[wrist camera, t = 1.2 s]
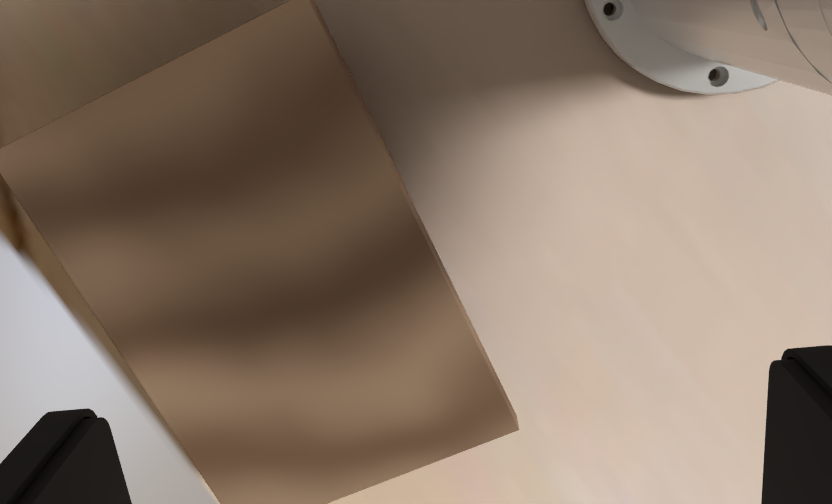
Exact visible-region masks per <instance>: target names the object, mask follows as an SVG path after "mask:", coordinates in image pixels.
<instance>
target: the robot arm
mask: <svg viewBox="0 0 832 504" xmlns="http://www.w3.org/2000/svg"><path fill="white" fill-rule="evenodd" d="M607 3H612V5H613V7H614V10H613V12H612V13H611V14H610V15H606V14H605V13H604V10H603V9H604V6H605V5H606V4H607ZM585 4H586V7H587V10H588V13H589V15H590V17H591V18H592V20H593V22H594V24H595V26H596V28H597V29H598V31H599V33H600V35H601V37H602V38H603V39H604V40H605V41H606V43H607V44H608V45H609V46H610V47H611V48H612V50H613V51H614V52H615V53H616V54H617V56H618V57H619V58H621V59H622V60H623V61H624V62H626V63H627V64H628V65H630V66H631V67H632V68H633V69H635V70H636V71H637V72H639V73H640V74H642V75H644V76H646V77H648V78H650V79H652V80H654V81H655V82H658V83H660V84H663V85H666V86H669V87H671V88H674V89H677V90H680V91H685V92H691V93H698V94H705V95H719V94H737V93H741V92H745V91H750V90H754V89H758V88H763V87H766V86H768V85H770V84H773V83H775V82H777V81H780V80H781V81H784V82H788V83H791V84H795V85H798V86H802V87H805V88H809V89H812V90H815V91H819V92H822V93H826V94H829V95H832V0H585ZM712 69H715V70H716V72H717V75H716V77H715V78H714V79H713V80H709V79H708V75H709V73H710V71H711V70H712ZM0 504H132V503H131V500H130V496H129V493H128V489H127V486H126V482H125V479H124V475H123V472H122V468H121V464H120V461H119V457H118V454H117V450H116V446H115V443H114V440H113V436H112V432H111V429H110V426H109V424H108V422H107V420H106V419H104V418H97V416H96V414H95V413H94V412H93V411H92V410H90V409H77V410H66V411H54V412H48V413H46V414H45V415H44V416H43V417H42V418H41V419H40V420H39V421H38V422H37V423H36V424H35V426H34V427H33V428H32V429H31V430H30V431H29V433H27V435H26V436H25V437H24V438H23V439H22V440H21V441H20V442H19V444H18V445H17V446H16V447H15V448H14V449H13V450H12V452H11V453H10V454H9V455H8V456H7V457H6V458H5V459H4V460H3V461H2V463H1V464H0ZM762 504H832V346H816V347H804V348H793V349H787V350H786V351H784V353H783V356H782V359H781V360H776V361H773V362H772V363H771V365H770V369H769V382H768V399H767V417H766V434H765V452H764V469H763V487H762Z"/></svg>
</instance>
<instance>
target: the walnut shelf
mask: <svg viewBox="0 0 832 504" xmlns="http://www.w3.org/2000/svg"><path fill="white" fill-rule="evenodd" d="M0 174H1V175H2V177H3V178H4V180H5V181H6V183H7V184H8V186H9V187H10V189H11V190H12V192H13V193H14V195H15V196H16V198H17V199H18V201H19V202H20V204H21V205H22V207H23V208H24V210H25V211H26V213H27V214H28V216H29V217H30V219H31V220H32V222H33V223H34V225H35V226H36V228H37V229H38V231H39V232H40V234H41V235H42V237H43V238H44V240H45V241H46V243H47V244H48V246H49V247H50V249H51V250H52V252H53V253H54V255H55V256H56V258H57V259H58V261H59V262H60V264H61V265H62V267H63V268H64V270H65V271H66V273H67V274H68V276H69V277H70V279H71V280H72V282H73V283H74V285H75V286H76V288H77V289H78V291H79V292H80V294H81V295H82V297H83V298H84V300H85V301H86V303H87V304H88V306H89V307H90V309H91V310H92V312H93V313H94V315H95V316H96V318H97V319H98V321H99V322H100V324H101V325H102V327H103V328H104V330H105V331H106V333H107V334H108V336H109V337H110V339H111V340H112V342H113V343H114V345H115V346H116V348H117V349H118V351H119V352H120V354H121V355H122V357H123V358H124V360H125V361H126V363H127V364H128V366H129V367H130V369H131V370H132V372H133V373H134V375H135V376H136V378H137V379H138V381H139V382H140V384H141V385H142V387H143V388H144V390H145V391H146V393H147V394H148V396H149V397H150V399H151V400H152V402H153V403H154V405H155V406H156V408H157V409H158V411H159V412H160V414H161V415H162V417H163V418H164V420H165V421H166V423H167V424H168V426H169V427H170V429H171V430H172V432H173V433H174V435H175V436H176V438H177V439H178V441H179V442H180V444H181V445H182V447H183V448H184V450H185V451H186V453H187V454H188V456H189V457H190V459H191V460H192V462H193V463H194V465H195V466H196V468H197V469H198V471H199V472H200V474H201V475H202V477H203V478H204V480H205V481H206V483H207V484H208V486H209V487H210V489H211V490H212V492H213V493H214V495H215V496H216V498H217V499H218V501H219V502H220V504H327V503H329V502H332V501H335V500H337V499H340V498H342V497H345V496H348V495H350V494H353V493H355V492H358V491H361V490H363V489H366V488H368V487H371V486H374V485H376V484H379V483H382V482H384V481H387V480H389V479H392V478H395V477H397V476H400V475H402V474H405V473H408V472H410V471H413V470H415V469H418V468H421V467H423V466H426V465H429V464H431V463H434V462H436V461H439V460H442V459H444V458H447V457H449V456H452V455H455V454H457V453H460V452H462V451H465V450H468V449H470V448H473V447H476V446H478V445H481V444H483V443H486V442H489V441H491V440H494V439H496V438H499V437H502V436H504V435H507V434H509V433H512V432H515V431H517V430H519V427H518V421H517V416H516V413H515V411H514V409H513V407H512V405H511V403H510V401H509V399H508V397H507V395H506V393H505V391H504V389H503V387H502V385H501V383H500V381H499V379H498V376H497V374H496V372H495V370H494V368H493V366H492V364H491V362H490V360H489V358H488V356H487V354H486V352H485V350H484V348H483V346H482V344H481V342H480V340H479V338H478V335H477V333H476V331H475V329H474V327H473V325H472V323H471V321H470V319H469V317H468V315H467V313H466V311H465V309H464V307H463V305H462V303H461V301H460V299H459V297H458V294H457V292H456V290H455V288H454V286H453V284H452V282H451V280H450V278H449V276H448V274H447V272H446V270H445V268H444V266H443V264H442V262H441V260H440V258H439V256H438V253H437V251H436V249H435V247H434V245H433V243H432V241H431V239H430V237H429V235H428V233H427V231H426V229H425V227H424V225H423V223H422V221H421V219H420V217H419V215H418V212H417V210H416V208H415V206H414V204H413V202H412V200H411V198H410V196H409V194H408V192H407V190H406V188H405V186H404V184H403V182H402V180H401V178H400V176H399V174H398V171H397V169H396V167H395V165H394V163H393V161H392V159H391V157H390V155H389V153H388V151H387V149H386V147H385V145H384V143H383V141H382V139H381V137H380V135H379V133H378V130H377V128H376V126H375V124H374V122H373V120H372V118H371V116H370V114H369V112H368V110H367V108H366V106H365V104H364V102H363V100H362V98H361V96H360V94H359V92H358V89H357V87H356V85H355V83H354V81H353V79H352V77H351V75H350V73H349V71H348V69H347V67H346V65H345V63H344V61H343V59H342V57H341V55H340V53H339V51H338V48H337V46H336V44H335V42H334V40H333V38H332V36H331V34H330V32H329V30H328V28H327V26H326V24H325V22H324V20H323V18H322V16H321V14H320V12H319V10H318V7H317V5H316V3H315V1H314V0H290V1H288V2H286V3H284V4H282V5H280V6H278V7H276V8H275V9H273V10H271V11H269V12H267V13H265V14H263V15H261V16H259V17H257V18H255V19H253V20H251V21H249V22H247V23H245V24H243V25H241V26H239V27H237V28H235V29H233V30H231V31H229V32H227V33H225V34H223V35H222V36H220V37H218V38H216V39H214V40H212V41H210V42H208V43H206V44H204V45H202V46H200V47H198V48H196V49H194V50H192V51H190V52H188V53H186V54H184V55H182V56H180V57H178V58H176V59H174V60H172V61H171V62H169V63H167V64H165V65H163V66H161V67H159V68H157V69H155V70H153V71H151V72H149V73H147V74H145V75H143V76H141V77H139V78H137V79H135V80H133V81H131V82H129V83H127V84H125V85H123V86H121V87H119V88H118V89H116V90H114V91H112V92H110V93H108V94H106V95H104V96H102V97H100V98H98V99H96V100H94V101H92V102H90V103H88V104H86V105H84V106H82V107H80V108H78V109H76V110H74V111H72V112H70V113H68V114H67V115H65V116H63V117H61V118H59V119H57V120H55V121H53V122H51V123H49V124H47V125H45V126H43V127H41V128H39V129H37V130H35V131H33V132H31V133H29V134H27V135H25V136H23V137H21V138H19V139H17V140H15V141H14V142H12V143H10V144H8V145H6V146H4V147H2V148H0Z"/></svg>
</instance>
